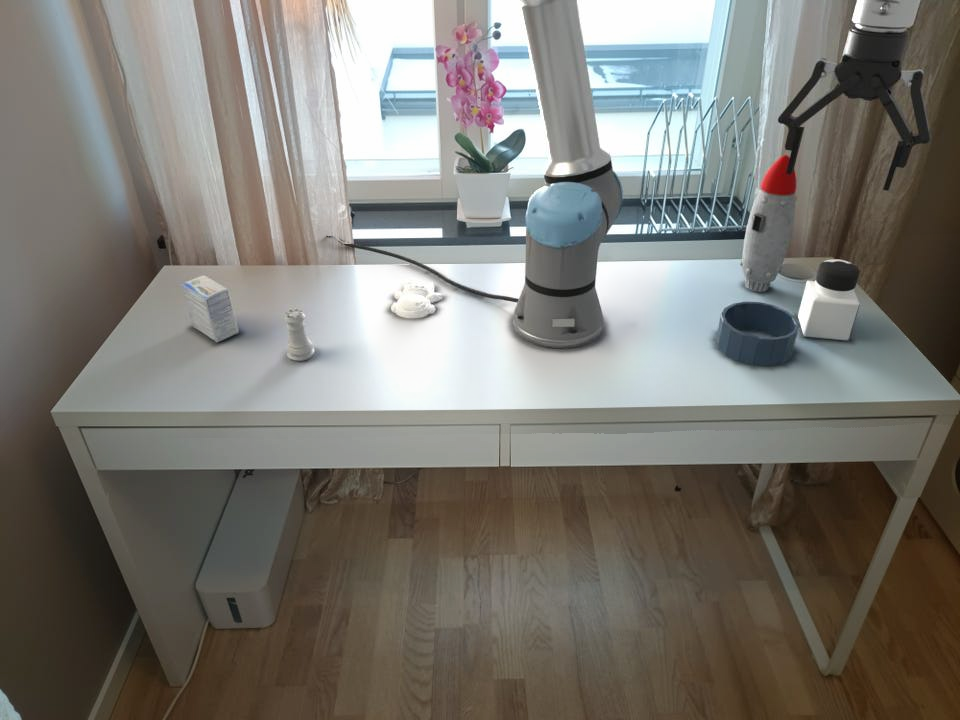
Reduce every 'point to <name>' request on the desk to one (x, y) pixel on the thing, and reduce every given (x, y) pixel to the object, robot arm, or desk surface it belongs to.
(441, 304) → the desk surface
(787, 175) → the toy rocket
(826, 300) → the medicine bottle
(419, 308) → the astronaut figurine
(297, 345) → the rook chess piece
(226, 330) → the medicine box
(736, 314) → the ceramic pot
